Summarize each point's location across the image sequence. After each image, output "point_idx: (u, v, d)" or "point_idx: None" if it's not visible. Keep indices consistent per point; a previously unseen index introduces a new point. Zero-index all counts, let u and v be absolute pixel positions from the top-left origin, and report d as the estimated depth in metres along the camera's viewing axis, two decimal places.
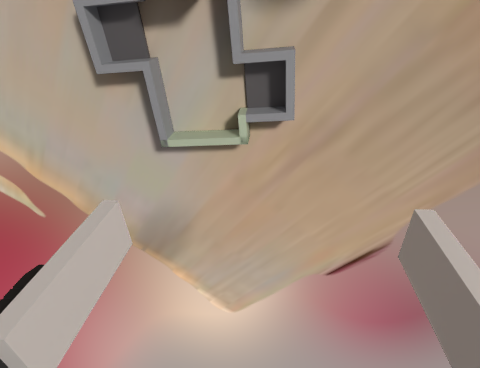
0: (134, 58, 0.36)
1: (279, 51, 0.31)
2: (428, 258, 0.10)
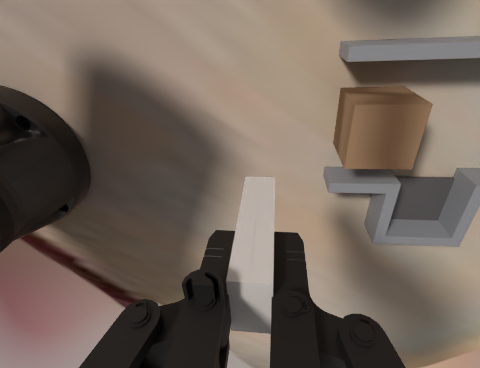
0: (446, 196, 0.28)
1: None
2: None
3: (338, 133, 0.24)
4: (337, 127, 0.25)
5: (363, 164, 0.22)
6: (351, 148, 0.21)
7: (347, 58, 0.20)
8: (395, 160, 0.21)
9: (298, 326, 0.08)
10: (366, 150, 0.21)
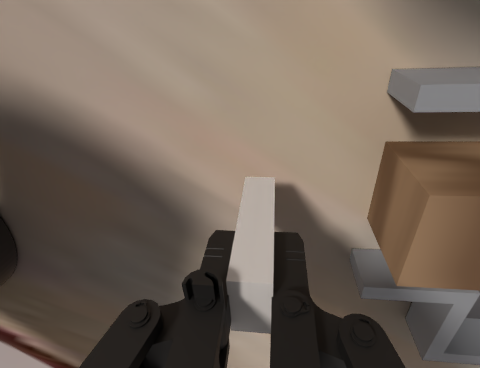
0: None
1: None
2: None
3: (380, 212, 0.15)
4: (377, 201, 0.16)
5: (431, 281, 0.13)
6: (412, 259, 0.12)
7: (413, 105, 0.11)
8: None
9: (298, 326, 0.08)
10: (439, 263, 0.12)
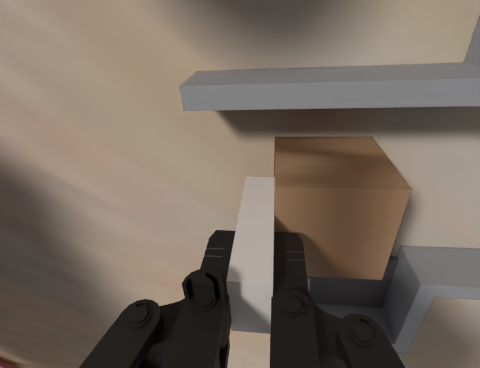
0: (389, 280, 0.20)
1: None
2: None
3: None
4: None
5: None
6: None
7: None
8: (354, 266, 0.13)
9: (298, 326, 0.08)
10: (304, 252, 0.13)
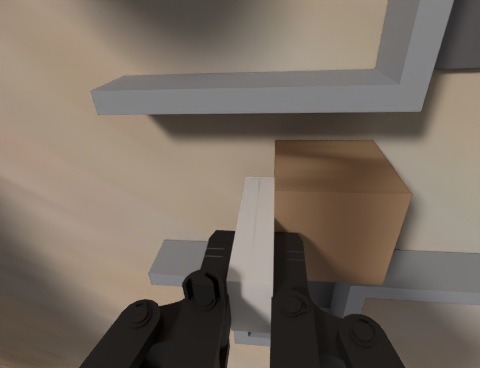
0: None
1: None
2: None
3: None
4: None
5: None
6: None
7: None
8: (354, 271, 0.13)
9: (298, 326, 0.08)
10: None
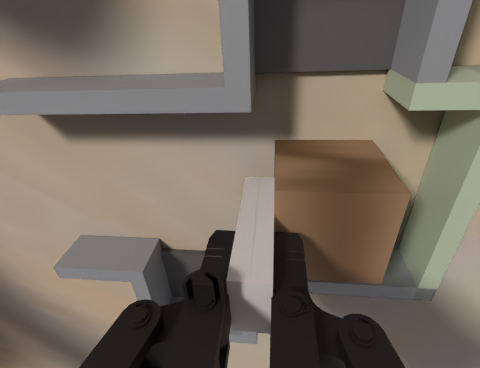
0: None
1: None
2: None
3: None
4: None
5: None
6: None
7: None
8: (353, 270, 0.13)
9: (298, 326, 0.08)
10: None
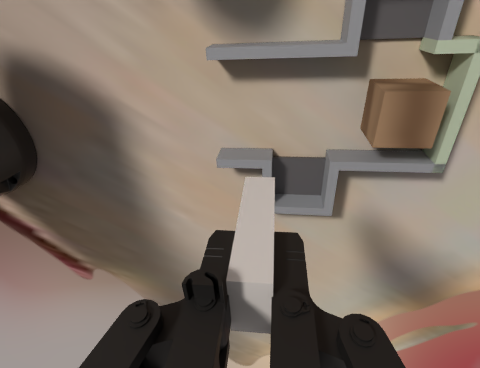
0: (322, 173, 0.33)
1: None
2: None
3: (366, 118, 0.28)
4: (365, 113, 0.28)
5: (389, 143, 0.26)
6: (379, 129, 0.25)
7: (207, 57, 0.26)
8: (417, 140, 0.25)
9: (298, 326, 0.08)
10: (392, 131, 0.25)
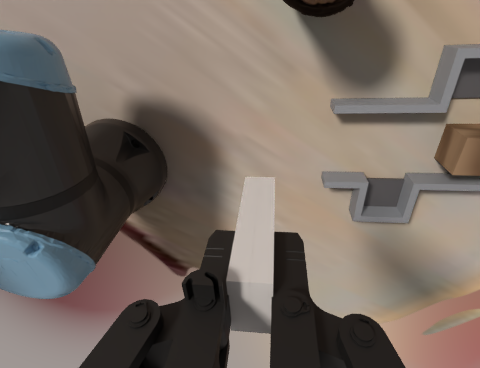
0: (400, 190, 0.43)
1: (453, 65, 0.31)
2: None
3: (442, 152, 0.38)
4: (441, 148, 0.39)
5: (465, 172, 0.36)
6: (459, 163, 0.35)
7: (334, 111, 0.35)
8: None
9: (298, 326, 0.08)
10: (468, 164, 0.35)
